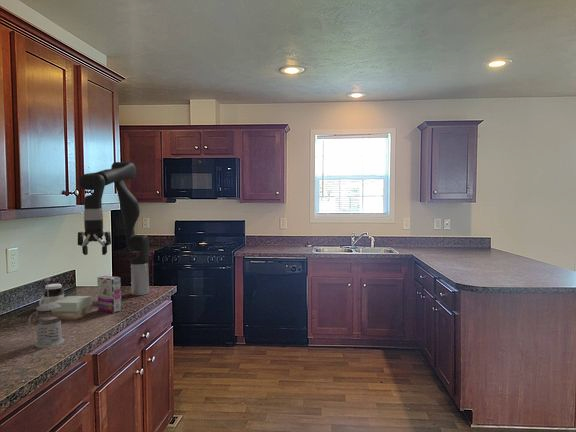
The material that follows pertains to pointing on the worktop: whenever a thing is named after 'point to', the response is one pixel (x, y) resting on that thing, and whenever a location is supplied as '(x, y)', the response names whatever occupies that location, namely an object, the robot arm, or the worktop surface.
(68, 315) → the maple block
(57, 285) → the spread jar
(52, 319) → the french press
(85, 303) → the sage block
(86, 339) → the worktop surface
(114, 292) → the candy bar box
